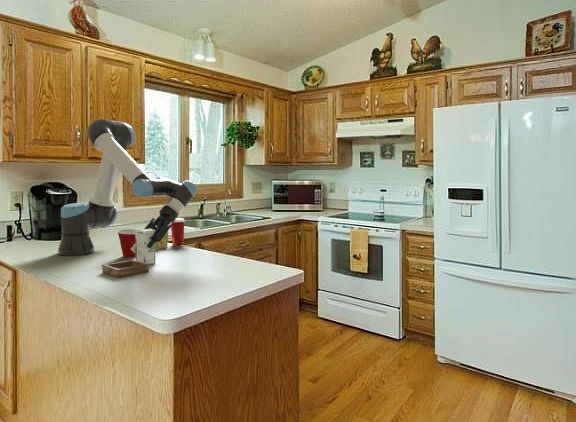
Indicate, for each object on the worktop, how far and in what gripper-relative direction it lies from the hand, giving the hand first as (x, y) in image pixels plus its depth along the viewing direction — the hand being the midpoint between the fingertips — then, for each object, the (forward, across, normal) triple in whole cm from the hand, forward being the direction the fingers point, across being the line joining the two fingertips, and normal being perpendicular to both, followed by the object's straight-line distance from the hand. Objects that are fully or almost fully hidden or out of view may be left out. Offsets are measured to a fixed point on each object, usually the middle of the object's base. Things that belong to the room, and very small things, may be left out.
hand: (137, 252), depth 163 cm
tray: (+10, -8, +3) cm, 13 cm away
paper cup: (-25, +31, -33) cm, 51 cm away
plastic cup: (-1, +20, -9) cm, 22 cm away
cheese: (-16, +33, -24) cm, 43 cm away
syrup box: (+1, 0, -6) cm, 7 cm away
